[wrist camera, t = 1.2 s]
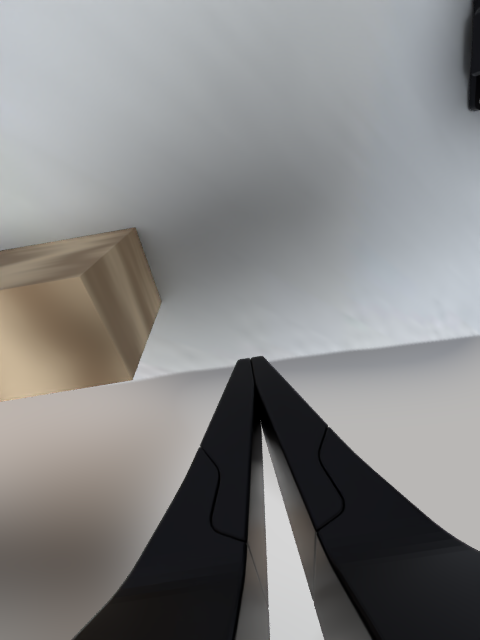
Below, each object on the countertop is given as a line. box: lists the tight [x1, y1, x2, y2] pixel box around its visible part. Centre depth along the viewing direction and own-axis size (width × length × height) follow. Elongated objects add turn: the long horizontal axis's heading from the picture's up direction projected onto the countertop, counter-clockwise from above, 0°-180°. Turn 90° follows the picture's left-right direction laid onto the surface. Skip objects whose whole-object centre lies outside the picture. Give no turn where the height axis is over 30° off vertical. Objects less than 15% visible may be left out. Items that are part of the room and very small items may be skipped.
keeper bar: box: [0, 228, 161, 402], centre depth 16 cm, size 16×6×9 cm, turn 98°
